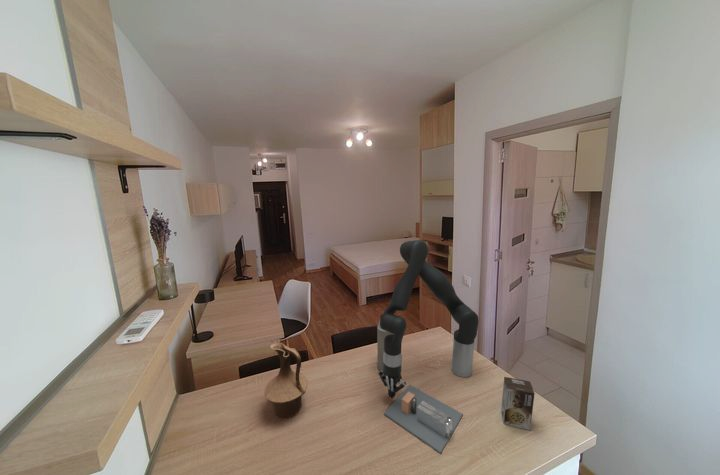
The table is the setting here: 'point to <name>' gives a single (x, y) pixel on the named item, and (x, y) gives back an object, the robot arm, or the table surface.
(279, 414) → the pitcher
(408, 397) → the block
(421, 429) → the slate board
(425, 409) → the jaw
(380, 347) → the thermos bottle
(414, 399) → the post
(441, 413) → the bar
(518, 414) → the coffee box
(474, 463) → the table surface
